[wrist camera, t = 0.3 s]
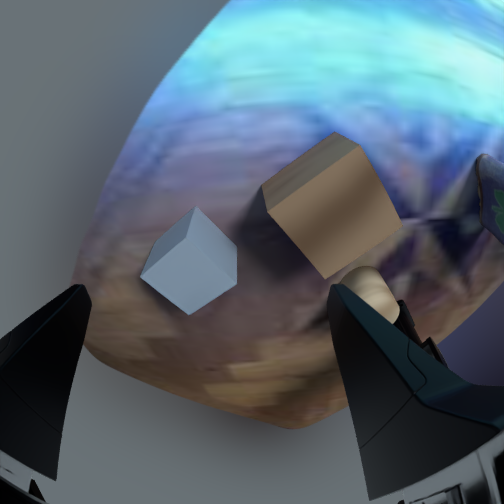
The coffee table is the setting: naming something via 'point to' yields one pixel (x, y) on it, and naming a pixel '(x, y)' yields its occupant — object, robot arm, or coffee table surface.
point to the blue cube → (192, 262)
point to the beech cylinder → (372, 291)
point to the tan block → (331, 204)
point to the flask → (491, 194)
